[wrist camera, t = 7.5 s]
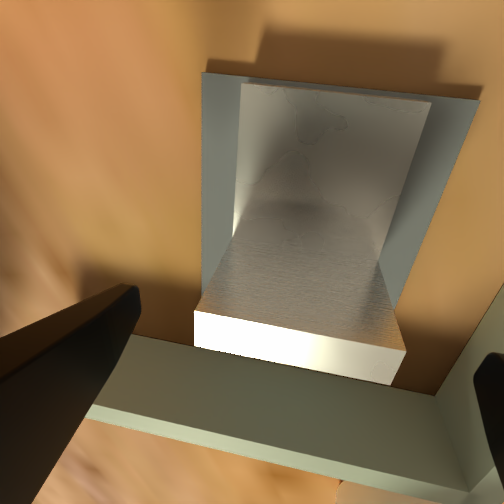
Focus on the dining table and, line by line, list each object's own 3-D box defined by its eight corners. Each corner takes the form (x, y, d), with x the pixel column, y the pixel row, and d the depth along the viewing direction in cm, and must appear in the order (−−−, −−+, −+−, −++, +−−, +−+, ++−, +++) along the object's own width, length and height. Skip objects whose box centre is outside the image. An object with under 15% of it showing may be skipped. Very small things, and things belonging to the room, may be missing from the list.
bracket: (364, 273, 12) (390, 385, 8) (236, 252, 13) (195, 345, 8) (420, 99, 9) (514, 126, 5) (248, 81, 9) (190, 91, 5)
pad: (203, 328, 15) (201, 333, 15) (204, 72, 10) (201, 72, 10) (369, 361, 15) (370, 366, 14) (476, 99, 9) (480, 100, 9)
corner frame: (82, 338, 18) (26, 403, 14) (-23, -52, 9) (-222, -123, 6) (451, 416, 15) (488, 515, 12) (745, -6, 7) (1143, -77, 4)
